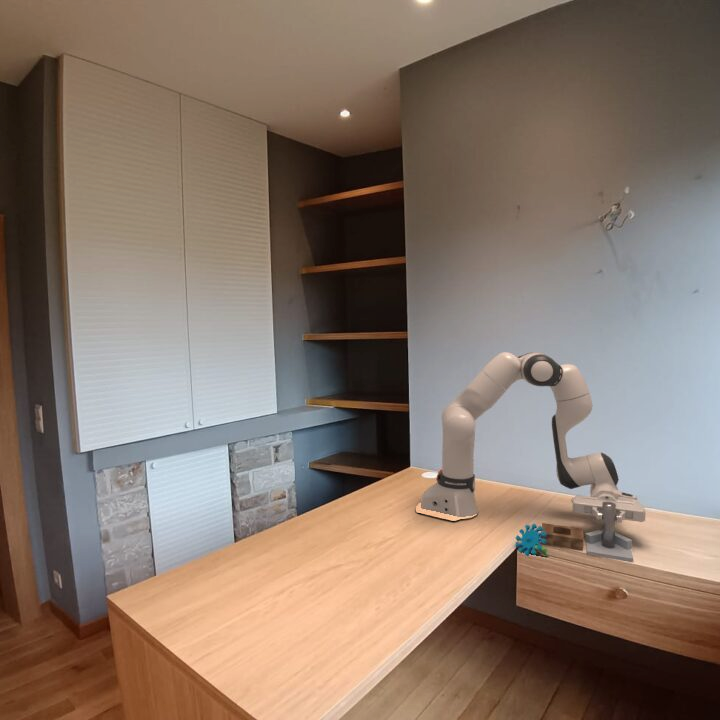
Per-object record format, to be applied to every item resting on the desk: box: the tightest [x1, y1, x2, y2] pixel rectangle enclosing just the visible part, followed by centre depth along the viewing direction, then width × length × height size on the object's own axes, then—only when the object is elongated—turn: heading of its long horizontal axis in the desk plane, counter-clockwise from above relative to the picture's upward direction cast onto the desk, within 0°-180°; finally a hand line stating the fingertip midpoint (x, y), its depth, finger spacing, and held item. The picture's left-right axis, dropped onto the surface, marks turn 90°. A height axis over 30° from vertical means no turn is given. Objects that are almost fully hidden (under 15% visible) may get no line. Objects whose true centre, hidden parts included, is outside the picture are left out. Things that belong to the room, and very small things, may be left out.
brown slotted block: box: [540, 522, 584, 552], centre depth 150 cm, size 12×8×4 cm, turn 66°
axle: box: [601, 502, 617, 548], centre depth 145 cm, size 4×4×13 cm
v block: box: [584, 528, 634, 563], centre depth 145 cm, size 13×12×4 cm
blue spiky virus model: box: [514, 523, 550, 557], centre depth 145 cm, size 11×6×10 cm
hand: (609, 518), depth 144 cm, fingers open, 4 cm apart
